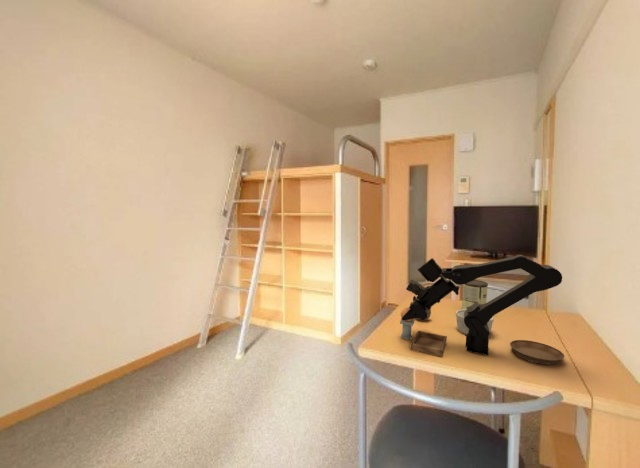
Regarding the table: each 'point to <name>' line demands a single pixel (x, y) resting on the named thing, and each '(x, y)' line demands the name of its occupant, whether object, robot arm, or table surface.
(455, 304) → the table surface
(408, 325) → the stand
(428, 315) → the vase
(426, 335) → the tray
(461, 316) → the ramekin
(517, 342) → the saucer
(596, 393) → the table surface
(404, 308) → the ball
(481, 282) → the coffee can
